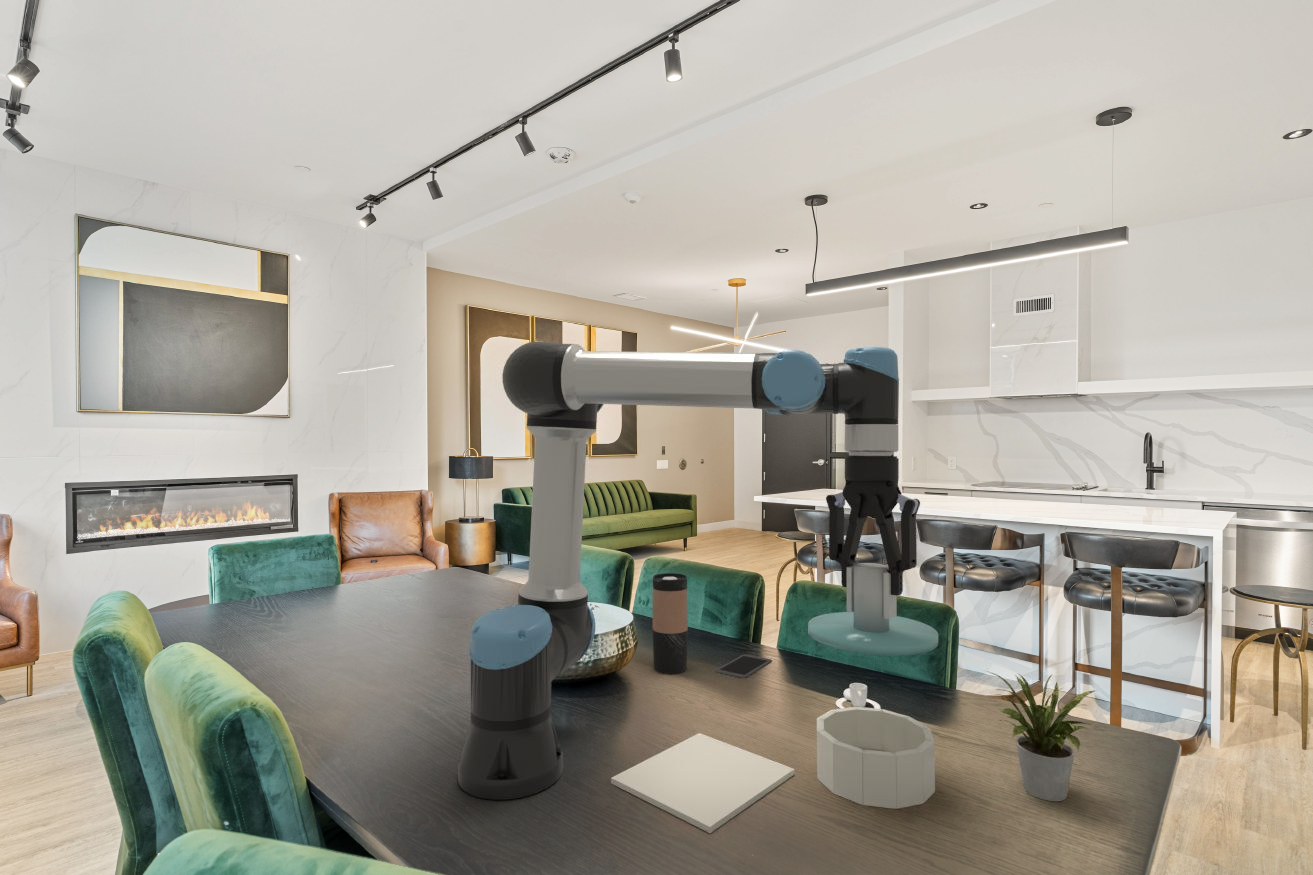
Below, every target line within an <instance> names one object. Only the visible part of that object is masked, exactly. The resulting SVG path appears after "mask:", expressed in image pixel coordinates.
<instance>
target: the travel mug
mask: <svg viewBox="0 0 1313 875" xmlns="http://www.w3.org/2000/svg"><path fill="white" fill-rule="evenodd" d="M688 612H689V610H688V576H687V575H685V574H683V573H678V572H677V573H675V572H673V573H671V572H664V573H657V574H655V575H653V577H652V652H653V657H652V658H653V669H654V671H655V672H657V673H659V674H663V675H678V674H682V673H685V672H686V670H687V669H688V668H687V666H688V640H689V639H688V638H689V637H688V636H689V635H688V633H689V632H688V628H689V626H688V625H689V624H688V622H689V620H688V619H689V618H688V617H689V616H688Z"/></svg>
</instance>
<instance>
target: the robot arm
mask: <svg viewBox="0 0 1313 875" xmlns="http://www.w3.org/2000/svg"><path fill="white" fill-rule="evenodd" d="M898 361H899V360H898V354H897V353H896V351H895V350H893V349H891V348H889V347H884V346H883V347H882V346H867V347H858V348H857V347H856V348H851V349H848V350H846V351H845V354H844V358H843V362H838V363H820V361H818V359H816V357H814V355H812V354H810V353H809V352H806V351H804V350H799V349H786V350H782V351H780V352H762V353H760V352H759V353H757V352H710V351H709V352H705V351H704V352H702V351H701V352H700V351H699V352H698V351H697V352H696V351H695V352H694V351H688V352H687V351H614V350H613V351H612V350H611V351H604V350H603V351H602V350H600V351H597V350H594V351H592V350H589V351H588V350H587V351H586V350H585V349H584V347H582V345H580V344H578V343H556V342H548V341H543V340H542V341H541V340H537V341H535V340H534V341H530V342H526V343H525V344H521V345H520V346H519V347H517V348H516V349H514V350H513V351H512V352H511V354H510V355H509V356H508V358H507V359H506V361H505V364H504V367H503V370H502V374H501V375H502V386H503V390H504V393H505V395H506V397H507V398H508V400H509V402H511V404H513V406H514V407H515V408H517V409H519V410H520V411H521V412H523V413H525V414H526V429H527V430H528V431H529V432H530V433H531V434H532V436H533V438H534V460H533V478H532V496H531V497H532V499H531V500H532V501H531V516H530V517H531V519H530V536H529V537H530V538H529V539H530V540H529V562H528V563H529V564H528V579H527V581H526V582H525V583H524V584H523V585H522V586H521V587H520V588H519V589H518V595H517V596H518V597H517V605H509V606H504V608H496V609H493V610H491V611H489V612H486V613H485V614H482V615H481V616H480V617H479V618H478V619H477V620H476V621H475V622H474V624H473V625H472V627H471V632H470V633H471V634H470V643H469V650H468V651H469V658H470V659H469V660H470V661H469V662H470V670H469V671H470V672H469V673H470V725H469V730H468V732H467V735H466V739H465V742H464V745H463V748H462V752H461V756H460V758H459V761H458V763H457V764H458V766H457V779H458V780H457V782H458V785H459V787H460V788H461V789H462V790H463V791H464V792H465V793H467V794H469V795H471V796H474V797H477V798H480V799H486V800H512V799H518V798H523V797H528V796H530V795H534V794H537V793H539V792H542V791H543V790H546V789H548V788H549V787H550V786H551V787H552V785H554V784H555V783H556V782H557V781H558V780H559V779H560V778H561V776H562V774H563V771H564V755H563V749H562V746H561V743H560V740H559V738H558V734H557V732H556V729H555V724H554V722H553V720H552V682H553V680H555V679H556V678H557V677H558V676H560V675H561V674H562V673H564V672H565V671H567V670H568V669H569V668H570V667H572V666H574V665H575V664H577V663H578V662H579V661H580V660H581V659H582V658H583V657H584V656H585V655H586V653H587V652H588V650H589V649H590V647H591V646H592V643H593V641H594V638H595V633H596V618H595V615H594V612H593V610H592V609H591V608H590V606H589V605H588V602H589V601H588V600H589V590H588V589H587V588H586V587H585V586H584V585H583V584H582V582H581V562H582V561H581V560H582V559H581V558H582V541H583V522H584V520H583V518H584V502H585V501H584V498H585V482H586V481H585V478H586V461H587V460H586V459H587V458H586V457H587V442H588V439H590V438H591V437H592V435H594V434H595V433H596V432H597V421H598V420H597V419H598V413H599V412H600V410H601V409H602V408H603V406H604V405H625V406H627V405H628V406H657V407H660V406H661V407H690V408H691V407H695V408H696V407H697V408H723V409H724V408H727V409H728V408H729V409H758V410H764V412H766V413H767V414H769V415H781V416H790V415H827V414H828V415H829V414H833V415H839V414H840V415H841V414H842V415H843V414H844V451H845V452H848V455H845V456H846V457H844V481H845V484H844V487H843V489H842V492H839V493H833V494H828V495H826V497H825V500H826V503H827V504H826V505H827V507H828V509H829V510H828V511H829V514H828V515H829V519H828V520H829V523H828V524H829V525H828V526H829V527H828V531H829V532H828V534H829V535H828V543H829V544H828V558H829V560H831V561H835V562H837V563H838V564H839V565H840V567H841V574H840V575H841V578H840V579H841V587H842V588H845V589H846V612H854V564H857V562H858V561H857V560H856V558H857V554H858V550H859V546H860V542H861V537H862V533H863V530H864V526H865V523H866V521H867V520H868V518H871V519H873V520H875V524H876V526H878V530H879V533H880V537H881V543H882V546H883V550H884V555H885V558H886V563H887V566H888V567H889V570H887V572H884V619H891V618H893V617H895V616H898V615H897V612H898V611H897V605H898V604H897V603H898V602H897V599H898V598H897V597H898V596H900V595H902V593H903V590H904V586H903V585H904V584H903V583H904V580H903V579H904V572H905V571H908V570H911V569H914V568H916V566H917V562H918V561H917V560H918V559H917V555H918V554H917V515H918V511H919V509H920V505H921V501H920V499H918V498H911V497H908V496H906V495H904V494H903V495H902V491H901V490H900V487H899V479H900V478H899V475H900V474H899V473H900V472H899V470H900V469H899V463H900V462H899V458H898V456H897V455H896V456H895V453H898V451H899V409H900V408H899V404H900V403H899V401H900V400H899V399H900V398H899V397H900V393H899V392H900V378H899V377H900V376H899V362H898ZM846 502H847V505H848V506H849V508H850V513H849V517H848V527H847V531H846V535H845V507H844V506H845V505H846ZM897 505H898V506H899V510H900V511H901V515H900V539H901V540H900V544H899V540H898V536H897V531H896V529H895V524H894V523H895V518H894V513H893V510H894V509H895V507H896V506H897Z"/></svg>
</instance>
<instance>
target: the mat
mask: <svg viewBox="0 0 1313 875" xmlns="http://www.w3.org/2000/svg"><path fill="white" fill-rule="evenodd" d="M794 775H795V768H792V767H790V766H787V765H785V764H783V763H780V762H777V761H774V760H771V759H769V758H766V757H764V756H762V755H758V754H756V753H754V752H751V751H748V750H745V749H743V748H740V747H737V746H735V745H732V744H729V743H726V742H725V741H721V740H718V739H716V738H714V737H710V736H709V735H705V734H703V733H701V732H699V733H696V734H694V735H692V736H691V737H689V738H687V739H685V740H683V741H681V742H678V743H677V744H675V745H673V746H671V747H669V748H667V749H665V750H663V751H661V752H659V753H657V754H655V755H653V756H650V757H649V758H647V759H645V760H644V761H642V762H639V763H638V764H635V765H634V766H632V767H630V768H627V769H626V770H624V771H622V772H620V773H617V774H616V775H614V776H612V777H610V778H611V779H610V784H612V785H613V786H615V787H617V788H619V789H621V790H623V791H625V792H628V793H629V794H631V795H633V796H635V797H637V798H639V799H641V800H643V801H645V802H647V803H649V804H651V805H653V806H655V807H657V808H659V809H660V810H663V811H664V812H667V813H669V814H671V815H673V816H674V817H677V818H678V819H681V820H683V821H684V822H686V823H688V824H691V825H692V826H695V827H697V828H698V829H701V830H703V831H705V832H706V833H708V834H711V833H713V832H715V831H716V830H717V829H718V828H720V827H722V826H723V825H724V824H725V823H727V822H729V821H730V820H731V819H732V818H734V817H736V816H737V815H738V814H740V813H742V812H743V811H744V810H745V809H747V808H749V807H750V806H751V805H753V804H754V803H755V802H757V801H759V800H760V799H761V798H762V797H765V796H766V795H767V794H768V793H770V792H771V791H773V790H774V789H776V788H777V787H778V786H781V785H782V784H783V783H784V782H786V781H788V780H789V779H790V778H792V776H794Z"/></svg>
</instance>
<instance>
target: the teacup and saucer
mask: <svg viewBox="0 0 1313 875" xmlns="http://www.w3.org/2000/svg"><path fill="white" fill-rule="evenodd" d="M843 696H844V697H841V698H839V699H837V700H836V701H835V705H836V707H837V708H838V709H842V708H845V706H843V703H844V702H846V701H848V702H849V701H850V702H851V704H852V707H863V708H866V705H867V704H866V703H870V704H871V705H872V706H873V708H875V709H882V708H881V704H879V703H878V702H876V701H874V700H871V699H869V698H867V697H868V686H867V685H866V684H864V683H861V682H853V683H852V682H851V683H850V684H849V687H848V688H845V690H843Z"/></svg>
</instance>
